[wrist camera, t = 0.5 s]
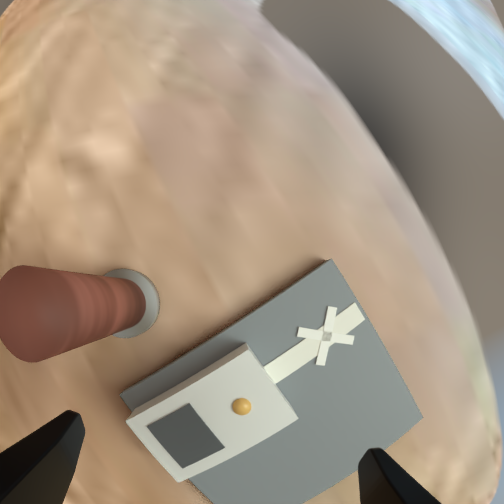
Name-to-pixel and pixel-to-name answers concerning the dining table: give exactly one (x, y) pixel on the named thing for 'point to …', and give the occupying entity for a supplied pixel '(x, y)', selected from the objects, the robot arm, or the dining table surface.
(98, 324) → the joystick
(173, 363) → the subfloor panel
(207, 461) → the block
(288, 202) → the dining table surface
